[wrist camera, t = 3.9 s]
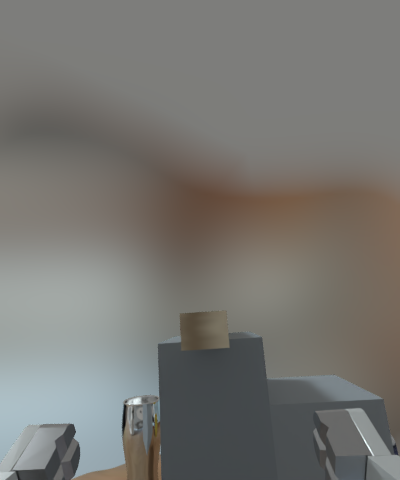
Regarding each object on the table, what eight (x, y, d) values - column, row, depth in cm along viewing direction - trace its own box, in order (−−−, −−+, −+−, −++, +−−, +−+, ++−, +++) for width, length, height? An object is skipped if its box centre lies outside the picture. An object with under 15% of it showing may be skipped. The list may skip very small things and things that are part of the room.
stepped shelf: (165, 636, 28) (157, 343, 35) (183, 532, 42) (175, 336, 48) (430, 631, 27) (369, 330, 34) (359, 526, 40) (326, 326, 47)
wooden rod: (181, 350, 25) (179, 313, 26) (200, 334, 48) (198, 315, 49) (229, 347, 25) (226, 310, 25) (225, 333, 48) (223, 314, 49)
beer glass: (151, 481, 55) (149, 393, 59) (171, 497, 50) (167, 398, 54) (115, 496, 51) (115, 400, 55) (132, 515, 46) (131, 407, 50)
